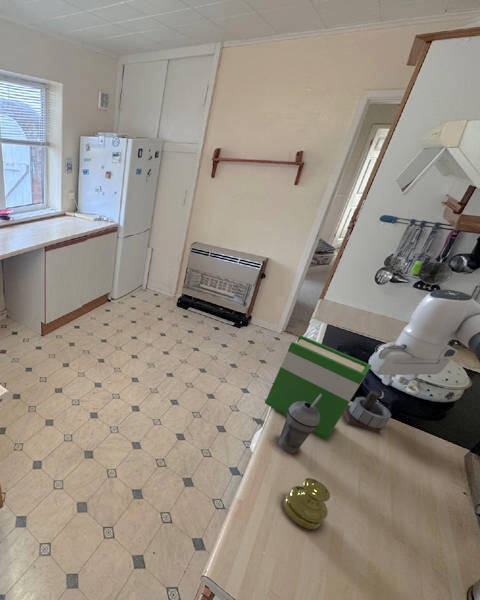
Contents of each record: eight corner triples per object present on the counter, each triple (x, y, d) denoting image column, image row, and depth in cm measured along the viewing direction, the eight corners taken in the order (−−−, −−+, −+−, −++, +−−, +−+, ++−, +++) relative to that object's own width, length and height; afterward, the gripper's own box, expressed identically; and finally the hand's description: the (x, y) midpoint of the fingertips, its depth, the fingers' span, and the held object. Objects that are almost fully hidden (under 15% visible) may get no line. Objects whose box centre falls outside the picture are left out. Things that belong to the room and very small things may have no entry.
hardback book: (264, 403, 105) (291, 342, 94) (274, 393, 110) (300, 335, 99) (326, 439, 93) (364, 375, 82) (334, 427, 98) (371, 365, 87)
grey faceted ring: (377, 411, 103) (383, 402, 101) (389, 431, 96) (396, 422, 94) (345, 402, 106) (350, 393, 104) (354, 421, 98) (360, 412, 97)
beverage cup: (275, 430, 95) (301, 378, 86) (304, 445, 91) (334, 391, 82) (270, 446, 90) (297, 392, 81) (300, 462, 86) (331, 407, 77)
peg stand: (368, 415, 104) (385, 389, 99) (378, 433, 97) (397, 406, 92) (339, 406, 106) (355, 381, 101) (347, 424, 99) (363, 397, 94)
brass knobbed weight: (275, 503, 75) (291, 476, 71) (296, 492, 78) (312, 465, 74) (306, 536, 69) (325, 508, 65) (327, 522, 72) (347, 495, 68)
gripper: (396, 351, 85) (372, 391, 91) (464, 351, 87) (435, 390, 93) (374, 338, 91) (353, 376, 97) (439, 338, 93) (413, 376, 99)
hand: (394, 383), depth 95 cm, fingers open, 4 cm apart
